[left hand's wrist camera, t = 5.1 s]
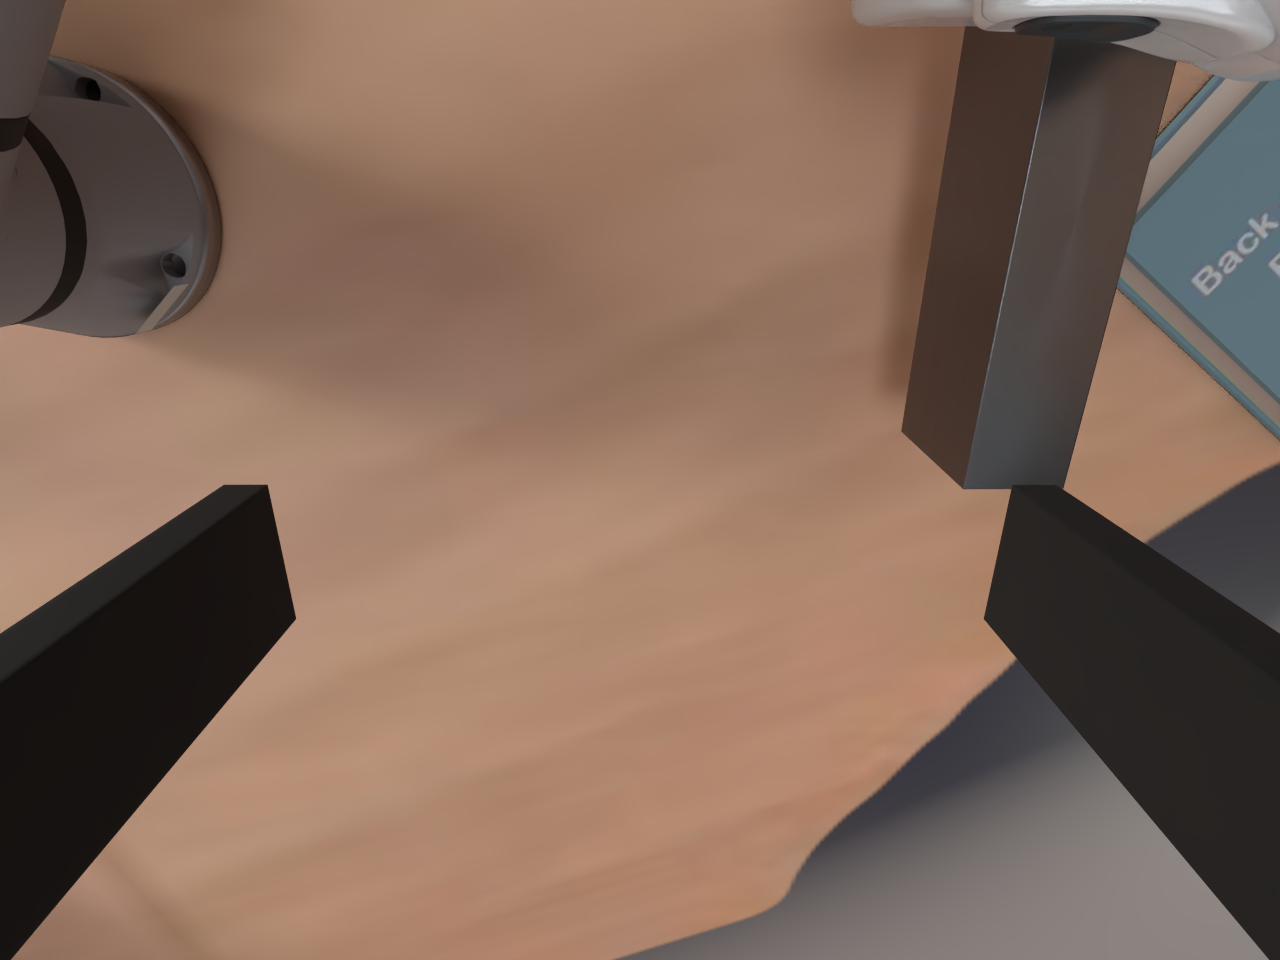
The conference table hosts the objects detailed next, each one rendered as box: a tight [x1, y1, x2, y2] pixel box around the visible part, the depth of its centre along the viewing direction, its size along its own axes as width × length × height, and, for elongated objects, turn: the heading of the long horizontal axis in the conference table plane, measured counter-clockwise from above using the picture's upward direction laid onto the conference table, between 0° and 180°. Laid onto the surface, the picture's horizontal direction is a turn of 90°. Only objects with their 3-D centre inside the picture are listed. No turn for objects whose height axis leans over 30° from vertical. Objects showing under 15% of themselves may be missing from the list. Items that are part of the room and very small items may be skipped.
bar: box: [901, 26, 1176, 489], centre depth 32 cm, size 24×5×8 cm, turn 0°
